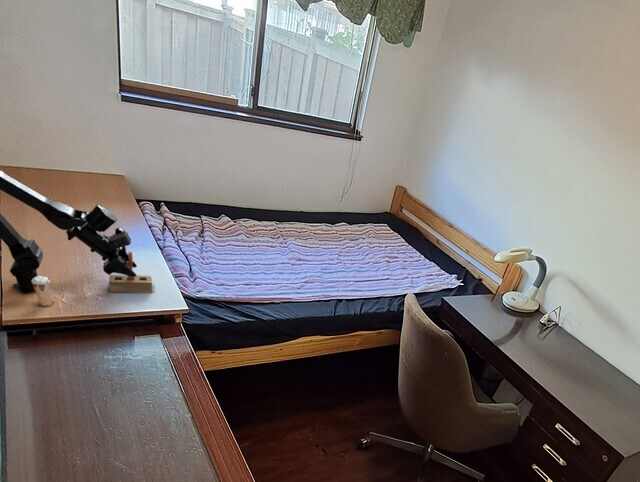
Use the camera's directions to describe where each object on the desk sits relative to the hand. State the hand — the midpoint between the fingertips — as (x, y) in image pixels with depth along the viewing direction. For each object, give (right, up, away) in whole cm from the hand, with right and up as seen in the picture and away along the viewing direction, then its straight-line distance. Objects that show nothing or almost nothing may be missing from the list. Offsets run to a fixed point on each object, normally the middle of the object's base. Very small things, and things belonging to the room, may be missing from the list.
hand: (135, 271), depth 157 cm
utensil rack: (-3, -6, +3) cm, 7 cm away
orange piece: (-3, -6, +3) cm, 7 cm away
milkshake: (-20, -13, -14) cm, 28 cm away
